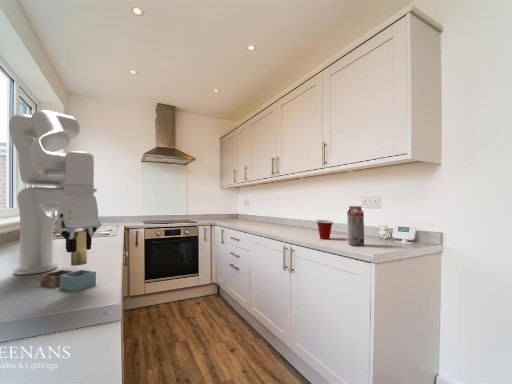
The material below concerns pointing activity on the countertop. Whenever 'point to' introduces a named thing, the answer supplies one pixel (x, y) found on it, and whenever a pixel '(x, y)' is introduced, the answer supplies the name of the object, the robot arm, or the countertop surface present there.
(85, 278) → the block
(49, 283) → the socket block
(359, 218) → the juice carton
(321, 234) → the plastic cup
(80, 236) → the gold domed peg
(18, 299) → the countertop surface
